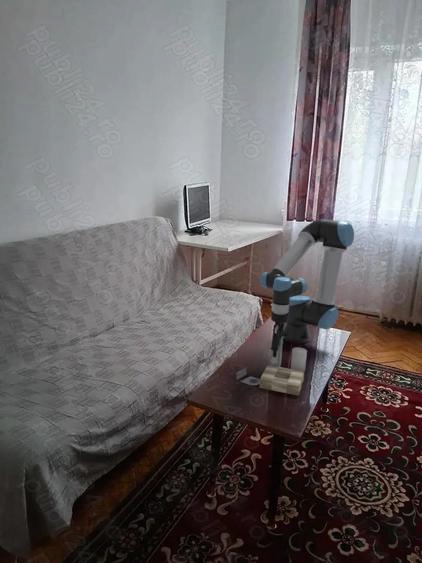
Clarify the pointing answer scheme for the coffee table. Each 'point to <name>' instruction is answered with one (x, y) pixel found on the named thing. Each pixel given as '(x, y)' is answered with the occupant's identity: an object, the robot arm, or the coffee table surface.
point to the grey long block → (279, 353)
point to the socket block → (282, 380)
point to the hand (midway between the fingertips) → (276, 359)
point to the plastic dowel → (298, 359)
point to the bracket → (248, 380)
